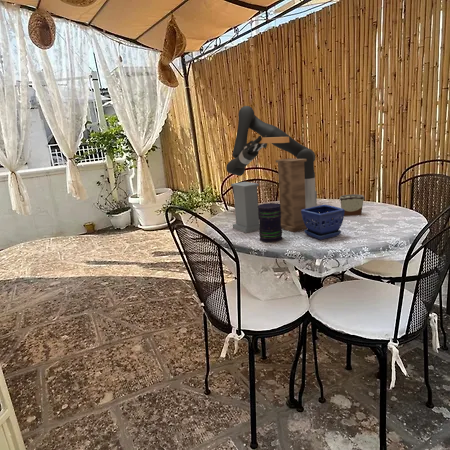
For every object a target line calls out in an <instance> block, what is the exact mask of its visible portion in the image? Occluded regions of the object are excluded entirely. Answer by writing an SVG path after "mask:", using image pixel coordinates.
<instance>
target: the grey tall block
mask: <svg viewBox="0 0 450 450" xmlns="http://www.w3.org/2000/svg"><path fill="white" fill-rule="evenodd" d="M259 186H260V184H259V183H256V182H255V183H254V182H249V181H242V182H235V183H231V184H230V187H232V189H233V201H234V203H233V204H234V212H235V213H234V215H235V223H233V224H232V229H234V230H237V231H240V232H242V233H245V234H247V233H250V232H251V233H252V232H255V231H259V227H260V224H259V218H258V205H259V201H258V187H259Z"/></svg>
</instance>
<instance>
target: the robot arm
mask: <svg viewBox="0 0 450 450" xmlns="http://www.w3.org/2000/svg"><path fill="white" fill-rule="evenodd" d="M237 120H238V124H237V131H236V136H235V141H234V145H233V149H232V150H233V151H232V154H231V155H232V157H233V159H231V160H230V161H229V162H228V163H227V164H226V167H225V168H226V172H227V173H229V174H230V175H231V174H232V175H235V176H239V177H241V176H243V175H244V173H245V171H246V167H247V166H248V165H249V164H251V162H252V161H254V159H255V158H256V157H257V156H259V155H258V154H259V151H260V150H262V149H263V148H264V149H266V148H267V146H268V143H259V142H260V141H261V140H262V138H267V137H289V142H288V143H270V145H271V144H272V145H273V146H275V147H276V148H278V149H280V150H283V151H285V152H287V153H290V154H291V155H292V156H294V158H295V159H307V161H305V162H304V172H305V206H306V208H311V207H315V206H318V205H317V204H318V200H317V199H318V198H317V197H318V196H317V190H316V173H315V164H314V163H315V160H316V153H315V152H314V151H313V149H311V148H309V147H307V146H305V145H303V144H301V143H299V142H298V141H297V140H295V139H294V138H293V137H292V136H290V135H289V134H288V133H286V132H285V131H283V130H282V129H280V127H277V126H275V125H273V124H271V123H266V122H264V121H263V120H261V119H260V118H259V117H257V115H255V111H254V109H253V108H252V106H249V105H244V106H242V107H241V108H240V109H239V111H238V119H237ZM249 130H252V131H253V132H255V133H257V134H258V135H259V136H258V137H256V138H257V139H256V138H255V139H254V140H250V141H248V135H249Z"/></svg>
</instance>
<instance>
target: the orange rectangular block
mask: <svg viewBox="0 0 450 450" xmlns="http://www.w3.org/2000/svg"><path fill="white" fill-rule="evenodd" d="M257 138H258V137H256V138H255V140H256V139H257ZM261 138H262V140H261V141H260V142H259V143H267V144H271V143H288V142H289V137H267V138H263V137H261Z"/></svg>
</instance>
